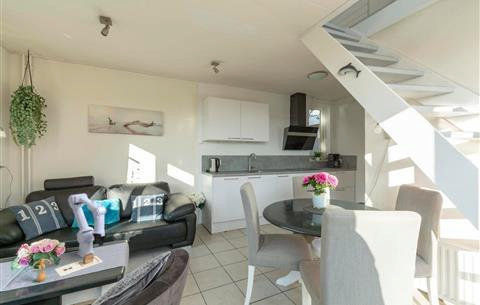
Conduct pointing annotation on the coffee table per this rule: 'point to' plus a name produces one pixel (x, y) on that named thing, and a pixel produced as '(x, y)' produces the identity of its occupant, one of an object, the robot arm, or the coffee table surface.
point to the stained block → (88, 258)
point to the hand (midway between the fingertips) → (99, 243)
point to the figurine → (41, 275)
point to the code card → (76, 266)
